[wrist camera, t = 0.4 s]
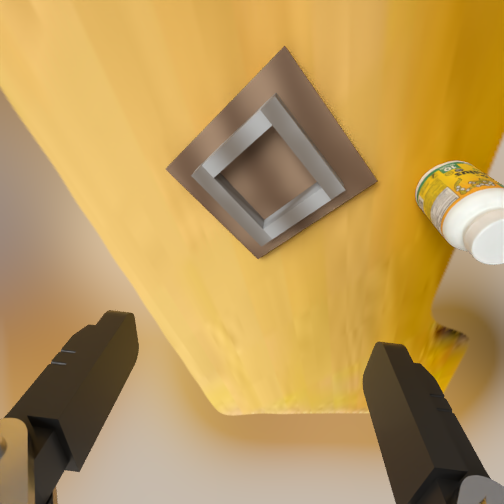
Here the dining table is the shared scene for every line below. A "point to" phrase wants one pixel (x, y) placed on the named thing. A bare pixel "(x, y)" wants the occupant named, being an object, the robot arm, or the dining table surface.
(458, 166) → the supplement bottle
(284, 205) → the socket holder
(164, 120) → the dining table surface
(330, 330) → the dining table surface
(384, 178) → the dining table surface
